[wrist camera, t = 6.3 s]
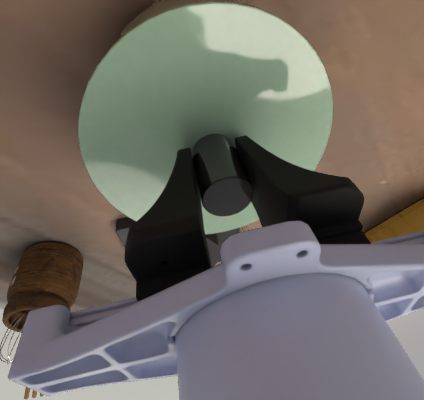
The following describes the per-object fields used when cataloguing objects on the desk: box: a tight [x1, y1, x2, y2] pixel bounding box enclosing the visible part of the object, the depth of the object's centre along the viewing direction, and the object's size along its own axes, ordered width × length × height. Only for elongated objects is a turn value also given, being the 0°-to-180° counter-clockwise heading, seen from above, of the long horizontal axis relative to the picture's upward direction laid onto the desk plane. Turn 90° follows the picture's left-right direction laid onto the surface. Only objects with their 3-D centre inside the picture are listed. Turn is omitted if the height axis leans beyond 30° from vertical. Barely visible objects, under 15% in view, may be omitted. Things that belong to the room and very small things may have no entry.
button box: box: [116, 218, 239, 268], centre depth 30 cm, size 12×9×3 cm
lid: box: [78, 1, 333, 234], centre depth 14 cm, size 14×14×5 cm
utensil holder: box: [0, 242, 83, 399], centre depth 25 cm, size 6×6×12 cm
